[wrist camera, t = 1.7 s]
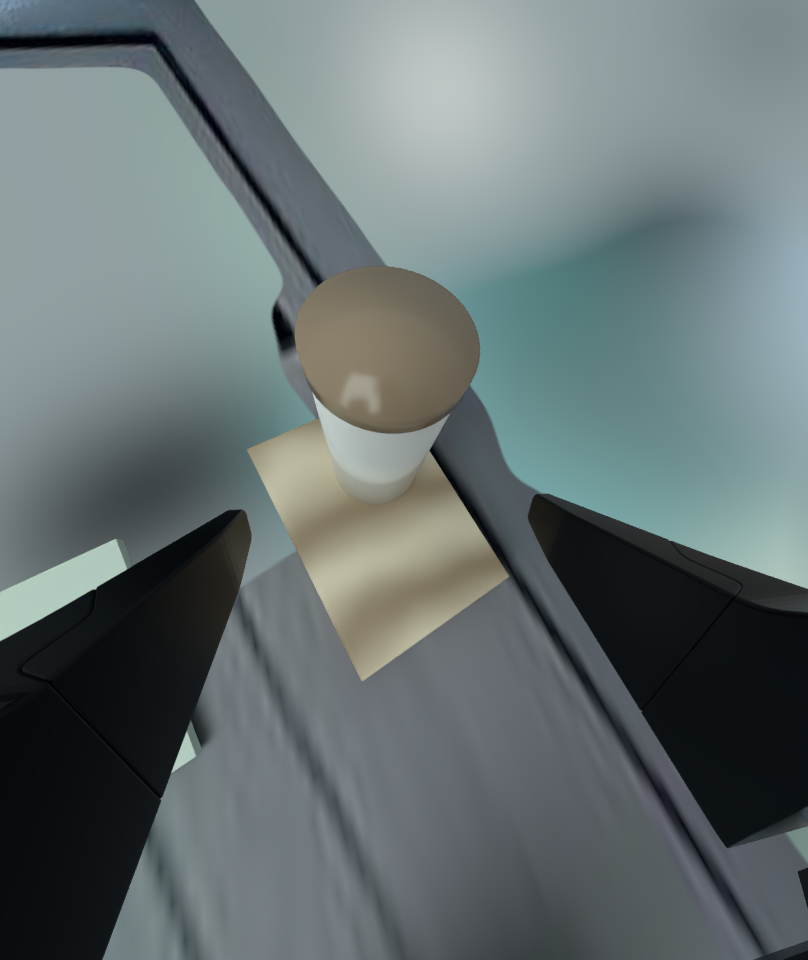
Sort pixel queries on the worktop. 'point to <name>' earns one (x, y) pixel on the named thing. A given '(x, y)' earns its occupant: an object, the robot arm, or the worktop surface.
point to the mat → (63, 586)
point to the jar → (384, 372)
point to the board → (377, 548)
